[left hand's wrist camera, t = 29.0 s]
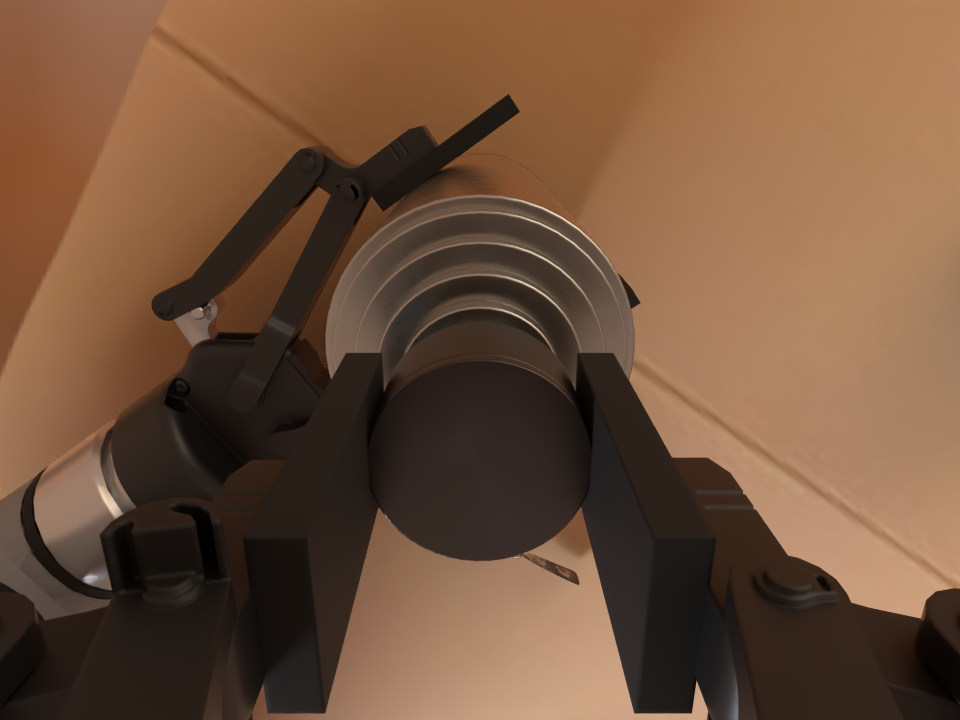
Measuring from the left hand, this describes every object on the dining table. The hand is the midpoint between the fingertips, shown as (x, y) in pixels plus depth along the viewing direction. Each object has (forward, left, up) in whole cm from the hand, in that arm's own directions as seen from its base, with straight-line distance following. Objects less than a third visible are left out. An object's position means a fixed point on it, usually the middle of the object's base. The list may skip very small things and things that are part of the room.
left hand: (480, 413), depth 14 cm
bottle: (0, 0, -22) cm, 22 cm away
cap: (0, 0, +2) cm, 2 cm away
